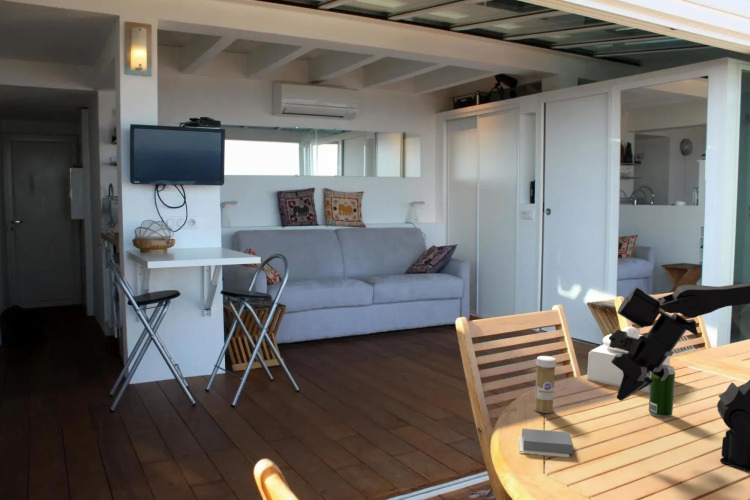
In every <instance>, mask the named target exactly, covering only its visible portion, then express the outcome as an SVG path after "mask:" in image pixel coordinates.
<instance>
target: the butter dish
mask: <svg viewBox="0 0 750 500" xmlns="http://www.w3.org/2000/svg"><path fill="white" fill-rule="evenodd" d="M621 331H624V332H627V336H630V337H634V338H637V339H639V337H640V336H641V335H642V336H643V335H644V334H640V332H639V330H638V329H637V328H636V327H635V326H631V325H630V326H625V327H624V328H622V330H621ZM611 335H612V333H609V334H606V336H603V338H602V343H603V344H600V345H599V346H598V347H595V348H593V349H591V350H590V351H589V352H588V354H587V356H588V357H587V359H588V360H587V371H586V372H587V376H586V380H587V379H588V380H587V381H590V380H591V381H592V382H596V383H600V384H605V385H610V386H615V387H619V388H620V385H621V382H622V379H623V371H622V370H620V369H619V368H618V367H616V366H615V365H614V364H612V362H611V361H612V360H613V359H614V357H615V356H616V355H617V354H627V353H628V352H629V351H625V350H622V349H618V348H612V347H609V346H610V342H611V340H609V337H610V336H611ZM663 365H669V366H671V356H668V357H667V358H666V360H665V361H664V362H663ZM649 378H650V379H651V372H650V377H649ZM591 381H590V382H591ZM639 392H643V393H647V394H650V385H649V386H647V387H645V388H643V389H641V390H640V391H639Z"/></svg>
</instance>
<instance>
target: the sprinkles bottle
mask: <svg viewBox="0 0 750 500" xmlns="http://www.w3.org/2000/svg"><path fill="white" fill-rule="evenodd" d="M556 364H557V359H556V358H555V357H553V356H549V355H539V356H537V357H536V377H535V394H534V396H535V402H534V404H535V406H534V411H536V412H537V413H542V414H550V413H551V414H552V413H553V411H554V397H555V380H556V379H555V369H556V367H557V365H556Z"/></svg>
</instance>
